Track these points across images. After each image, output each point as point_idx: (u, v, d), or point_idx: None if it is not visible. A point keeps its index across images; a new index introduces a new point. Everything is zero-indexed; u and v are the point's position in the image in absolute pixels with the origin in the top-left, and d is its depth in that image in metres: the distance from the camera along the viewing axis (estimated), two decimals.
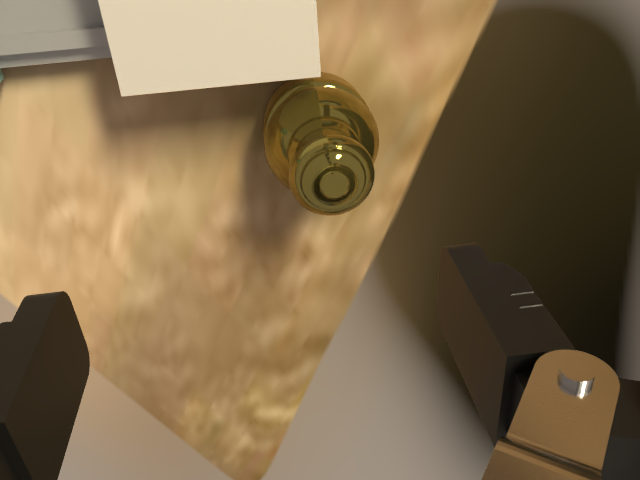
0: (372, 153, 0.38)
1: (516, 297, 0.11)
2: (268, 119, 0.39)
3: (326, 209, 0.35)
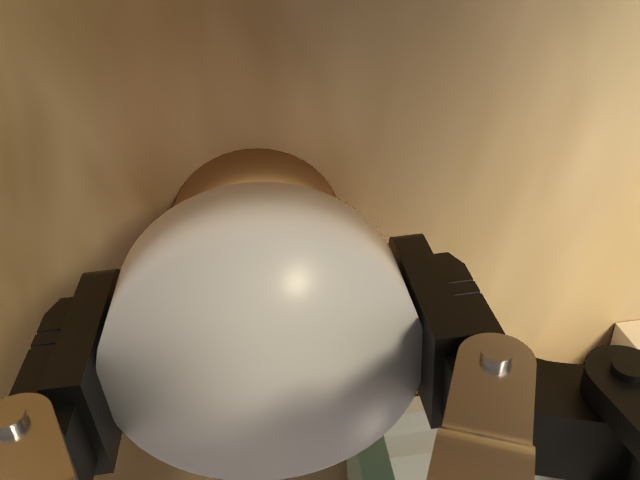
0: None
1: (455, 285, 0.12)
2: None
3: None
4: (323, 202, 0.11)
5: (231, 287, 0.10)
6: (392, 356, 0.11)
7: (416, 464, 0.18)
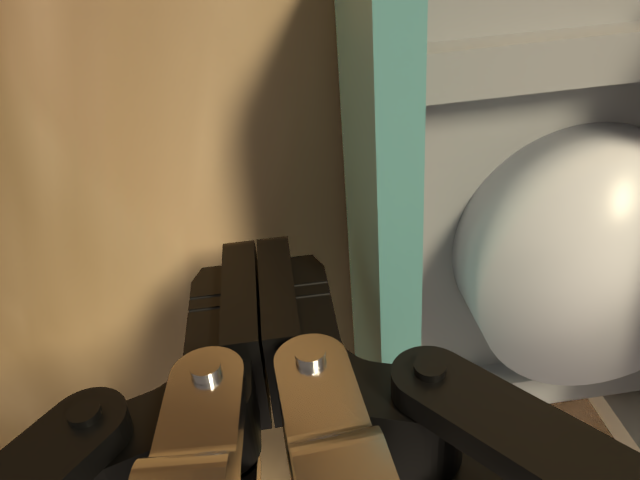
0: None
1: (309, 287, 0.12)
2: None
3: None
4: None
5: None
6: (595, 365, 0.14)
7: (450, 75, 0.11)
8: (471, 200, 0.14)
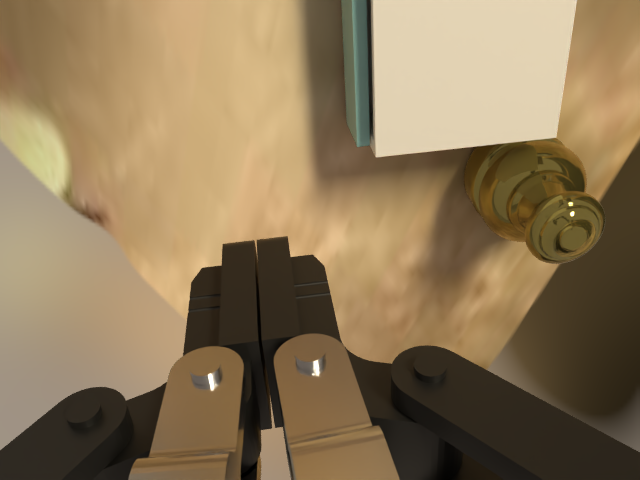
0: None
1: (309, 287, 0.12)
2: (479, 169, 0.42)
3: (557, 258, 0.37)
4: None
5: None
6: None
7: None
8: None
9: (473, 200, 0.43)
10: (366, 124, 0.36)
